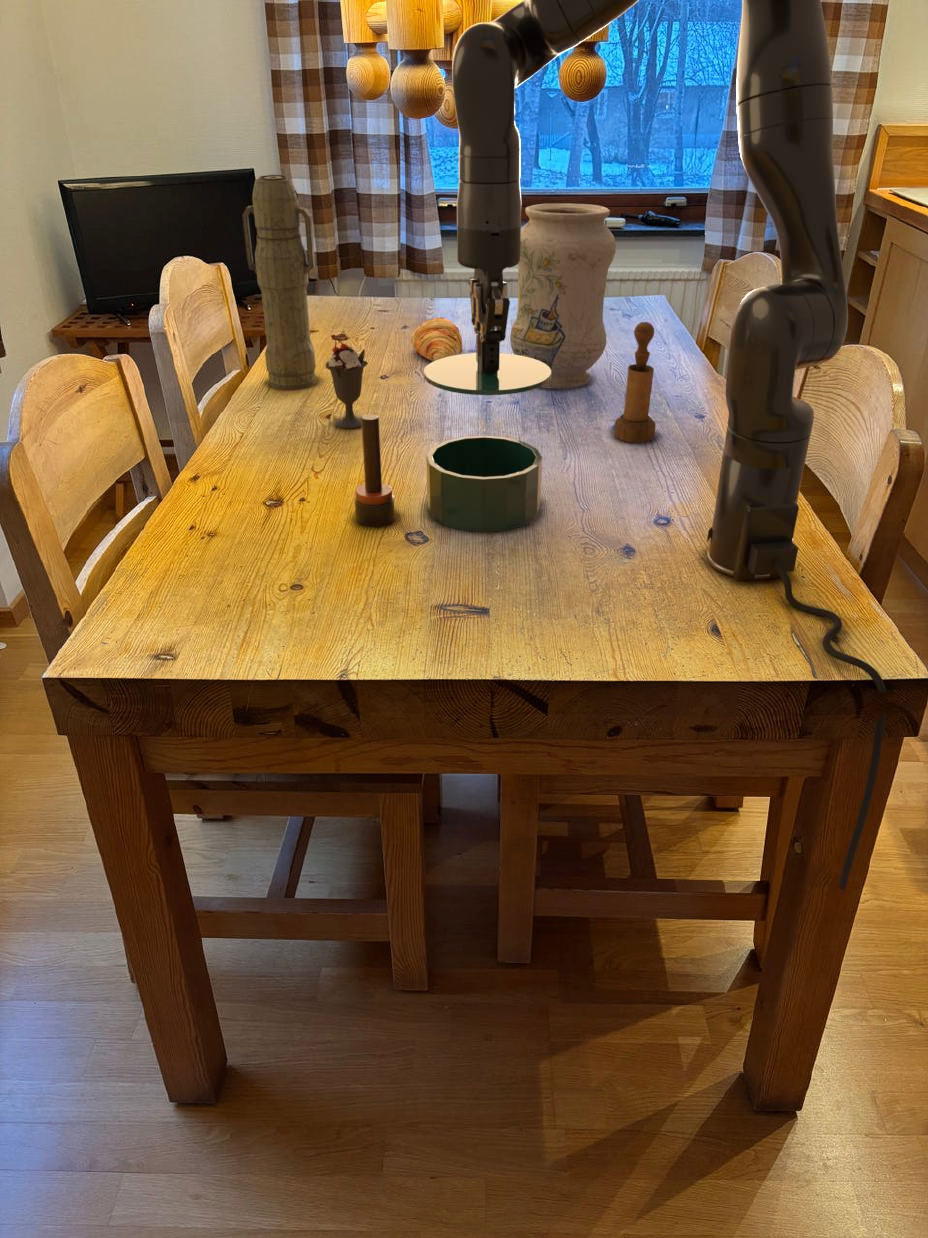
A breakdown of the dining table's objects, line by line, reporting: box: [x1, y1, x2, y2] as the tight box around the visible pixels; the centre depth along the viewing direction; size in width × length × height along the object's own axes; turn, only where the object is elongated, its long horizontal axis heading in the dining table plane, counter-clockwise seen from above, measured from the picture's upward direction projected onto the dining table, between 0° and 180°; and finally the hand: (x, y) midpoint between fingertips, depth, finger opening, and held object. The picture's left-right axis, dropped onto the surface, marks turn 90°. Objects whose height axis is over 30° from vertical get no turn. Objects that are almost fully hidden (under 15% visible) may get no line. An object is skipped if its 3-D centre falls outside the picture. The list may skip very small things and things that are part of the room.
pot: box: [425, 435, 543, 533], centre depth 130 cm, size 15×15×8 cm
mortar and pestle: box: [613, 321, 657, 444], centre depth 151 cm, size 7×6×18 cm
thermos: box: [241, 174, 317, 390], centre depth 170 cm, size 9×12×35 cm
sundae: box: [325, 334, 369, 430], centre depth 157 cm, size 7×7×15 cm
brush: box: [354, 413, 396, 528], centre depth 126 cm, size 5×5×14 cm
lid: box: [423, 328, 551, 396], centre depth 121 cm, size 16×16×6 cm
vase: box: [509, 203, 617, 390], centre depth 173 cm, size 18×18×30 cm
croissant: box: [410, 317, 463, 362], centre depth 194 cm, size 21×10×8 cm, turn 7°
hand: (487, 367), depth 122 cm, fingers closed on lid, 2 cm apart
